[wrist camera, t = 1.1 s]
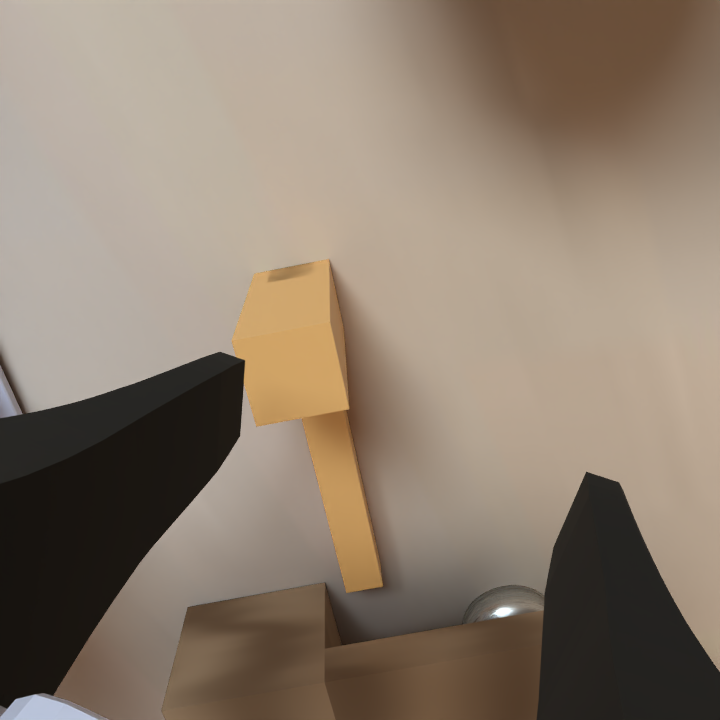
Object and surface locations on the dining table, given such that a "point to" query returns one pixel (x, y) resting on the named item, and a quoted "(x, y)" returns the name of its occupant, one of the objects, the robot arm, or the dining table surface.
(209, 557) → the dining table surface
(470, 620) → the steel puck
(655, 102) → the dining table surface
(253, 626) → the walnut l-shaped block
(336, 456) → the light wooden mallet
